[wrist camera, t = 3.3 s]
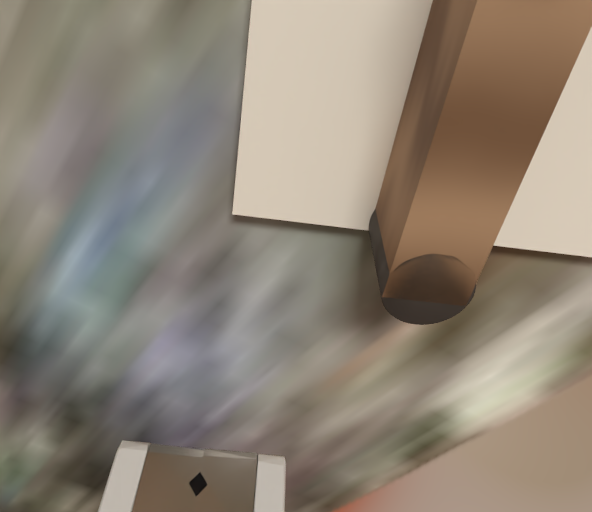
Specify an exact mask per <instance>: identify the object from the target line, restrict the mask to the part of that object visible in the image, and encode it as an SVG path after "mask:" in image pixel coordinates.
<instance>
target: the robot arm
mask: <svg viewBox="0 0 592 512" xmlns="http://www.w3.org/2000/svg"><path fill="white" fill-rule="evenodd" d="M285 477H286V461H285V457H284V456H278V455H267V454H258V455H257V453H252V452H239V451H227V450H215V449H198V448H189V447H179V446H169V445H160V444H151V443H145V442H134V441H123V440H122V442H121V444H120V446H119V447H118V449H117V452H116V455H115V459H114V462H113V465H112V468H111V471H110V474H109V478H108V481H107V484H106V487H105V490H104V493H103V497H102V500H101V503H100V506H99V509H98V512H284V510H285Z"/></svg>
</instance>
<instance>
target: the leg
mask: <svg viewBox="0 0 592 512" xmlns="http://www.w3.org/2000/svg"><path fill="white" fill-rule="evenodd" d="M591 27H592V0H433V2H432V5H431V9H430V13H429V16H428V20H427V24H426V27H425V31H424V34H423V38H422V42H421V45H420V49H419V53H418V56H417V60H416V63H415V67H414V71H413V74H412V78H411V82H410V85H409V89H408V92H407V96H406V100H405V103H404V107H403V111H402V114H401V118H400V121H399V125H398V129H397V132H396V136H395V140H394V143H393V147H392V150H391V154H390V158H389V161H388V165H387V169H386V172H385V176H384V179H383V183H382V187H381V190H380V194H379V198H378V201H377V205H376V208H375V210H374V211H373V213H372V215H371V218H370V221H369V234H370V240H371V245H372V250H373V255H374V261H375V266H376V271H377V276H378V282H379V287H380V292H381V298H382V302H383V304H384V306H385V308H386V310H387V311H388V312H389V313H390V314H391V315H392V316H394V317H395V318H397V319H399V320H401V321H403V322H407V323H410V324H419V325H424V324H434V323H438V322H441V321H444V320H447V319H449V318H451V317H453V316H455V315H456V314H458V313H459V312H461V311H462V310H463V309H464V308H465V307H466V306H467V305H468V304H469V302H470V301H471V299H472V298H473V296H474V293H475V289H476V283H477V280H478V278H479V276H480V274H481V271H482V269H483V267H484V265H485V263H486V260H487V258H488V256H489V254H490V251H491V249H492V247H493V245H494V243H495V240H496V238H497V236H498V234H499V231H500V229H501V227H502V225H503V223H504V220H505V218H506V216H507V214H508V211H509V209H510V207H511V205H512V203H513V200H514V198H515V196H516V194H517V191H518V189H519V187H520V185H521V182H522V180H523V178H524V176H525V174H526V171H527V169H528V167H529V165H530V162H531V160H532V158H533V156H534V154H535V151H536V149H537V147H538V145H539V142H540V140H541V138H542V136H543V134H544V131H545V129H546V127H547V125H548V122H549V120H550V118H551V116H552V114H553V111H554V109H555V107H556V105H557V102H558V100H559V98H560V96H561V94H562V91H563V89H564V87H565V85H566V82H567V80H568V78H569V76H570V73H571V71H572V69H573V67H574V65H575V62H576V60H577V58H578V56H579V53H580V51H581V49H582V47H583V45H584V42H585V40H586V38H587V36H588V33H589V31H590V29H591Z"/></svg>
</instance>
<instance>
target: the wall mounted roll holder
mask: <svg viewBox="0 0 592 512" xmlns="http://www.w3.org/2000/svg"><path fill="white" fill-rule="evenodd" d="M432 2H433V0H252V5H251V16H250V26H249V37H248V48H247V59H246V70H245V81H244V92H243V103H242V114H241V125H240V136H239V147H238V158H237V169H236V180H235V191H234V202H233V212H232V214H234V215H242V216H251V217H259V218H268V219H276V220H284V221H293V222H301V223H309V224H318V225H326V226H334V227H343V228H351V229H359V230H368V231H369V221H370V218H371V215H372V213H373V211H374V210H375V208H376V205H377V201H378V198H379V194H380V190H381V187H382V183H383V179H384V176H385V172H386V169H387V165H388V161H389V158H390V154H391V150H392V147H393V143H394V140H395V136H396V132H397V129H398V125H399V121H400V118H401V114H402V111H403V107H404V103H405V100H406V96H407V92H408V89H409V85H410V82H411V78H412V74H413V71H414V67H415V63H416V60H417V56H418V53H419V49H420V45H421V42H422V38H423V34H424V31H425V27H426V24H427V20H428V16H429V13H430V9H431V5H432ZM493 246H502V247H510V248H518V249H527V250H535V251H543V252H552V253H560V254H568V255H577V256H585V257H592V27H591V29H590V31H589V33H588V36H587V38H586V40H585V42H584V45H583V47H582V49H581V51H580V53H579V56H578V58H577V60H576V62H575V65H574V67H573V69H572V71H571V73H570V76H569V78H568V80H567V82H566V85H565V87H564V89H563V91H562V94H561V96H560V98H559V100H558V102H557V105H556V107H555V109H554V111H553V114H552V116H551V118H550V120H549V122H548V125H547V127H546V129H545V131H544V134H543V136H542V138H541V140H540V142H539V145H538V147H537V149H536V151H535V154H534V156H533V158H532V160H531V162H530V165H529V167H528V169H527V171H526V174H525V176H524V178H523V180H522V182H521V185H520V187H519V189H518V191H517V194H516V196H515V198H514V200H513V203H512V205H511V207H510V209H509V211H508V214H507V216H506V218H505V220H504V223H503V225H502V227H501V229H500V231H499V234H498V236H497V238H496V240H495V243H494V245H493Z"/></svg>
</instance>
